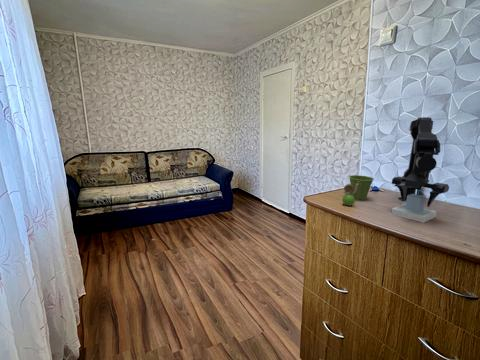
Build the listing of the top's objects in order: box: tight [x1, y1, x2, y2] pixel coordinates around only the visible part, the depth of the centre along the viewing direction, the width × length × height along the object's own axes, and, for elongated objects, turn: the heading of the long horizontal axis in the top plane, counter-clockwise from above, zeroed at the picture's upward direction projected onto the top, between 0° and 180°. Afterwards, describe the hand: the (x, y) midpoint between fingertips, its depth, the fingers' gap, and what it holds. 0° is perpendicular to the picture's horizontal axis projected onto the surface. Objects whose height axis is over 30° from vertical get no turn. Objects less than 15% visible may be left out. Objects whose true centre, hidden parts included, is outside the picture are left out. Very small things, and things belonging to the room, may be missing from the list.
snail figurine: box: [342, 181, 359, 206], centre depth 116 cm, size 5×6×12 cm
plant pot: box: [348, 174, 375, 201], centre depth 127 cm, size 12×12×11 cm
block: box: [405, 193, 427, 212], centre depth 103 cm, size 5×5×6 cm
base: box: [391, 203, 437, 224], centre depth 104 cm, size 12×12×3 cm
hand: (415, 203), depth 103 cm, fingers open, 9 cm apart
